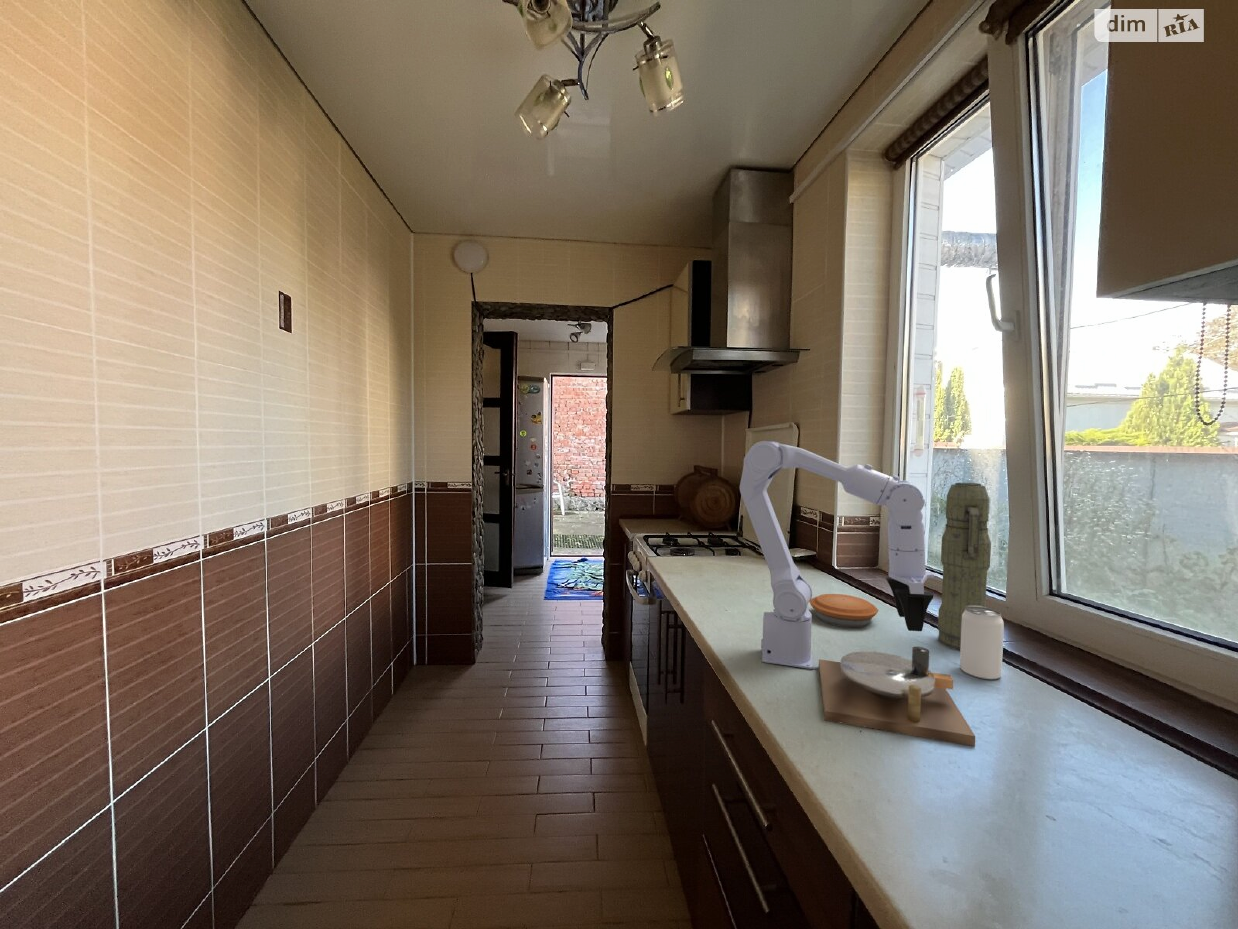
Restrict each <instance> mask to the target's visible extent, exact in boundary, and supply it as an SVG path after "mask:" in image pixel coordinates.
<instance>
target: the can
mask: <svg viewBox="0 0 1238 929" xmlns="http://www.w3.org/2000/svg"><path fill="white" fill-rule="evenodd" d="M1004 625H1005V624H1004V619H1003V618H1002V612H1000V611H999V610H996V609H993V608H990V607H981V606H966V607H965V611H964V613H963V614H962V624H961V648H960V650H959V651H960V652H959V656H960V657H959V668H960V670H962V672H963V673H965V674H967V675H969V676H971V677H973V678H977V679H982V680H988V681H989V680H990V681H994V680H998V679H1000V678H1001V677H1002V674H1003V672H1002V670H1003V649H1004V630H1005V629H1004V628H1005V627H1004Z"/></svg>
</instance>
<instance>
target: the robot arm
mask: <svg viewBox="0 0 1238 929" xmlns="http://www.w3.org/2000/svg"><path fill="white" fill-rule="evenodd" d="M799 468H800V469H803V470H806V471H809V472H811V473H814V474H816V475H820V476H822V477H825V478H828V479H830V480H833V481H835V482H839V483H840V484H841V485H842V487H843V490H844V492H845V493H847V494H850V495H852V496H854V497H857V498H859V499H863V500H865V501H868V502H870V503H871V504H875V505H877V506H886V508H887V509H888V522H887V537H888V538H887V540H888V541H887V544H888V546H887V547H888V562H889V564H888V565H889V571H888V577H885V580H886V582H887V584H888V585H889V587H890V590H891V592H892V596H893V598H894V599H893V600H894V604H895V607H896V611H897V614H898V616H899V618H904V622H905V626H906V628H907V630H908V631H909V632H922V631H923V628H924V624H925V619H926V615H927V610H928V608H929V605H930V604H931V602H932V600H933V599H934V593H933V592H932V591H925V590H924V589H925V588H924V584H925V582H926V581H927V580H928V579H934V577H935V576H934V573H932V571H927V570H926V553H925V552H926V550H925V548H926V547H925V545H926V544H925V526H924V523H923V519H924V518H923V516H924V515H923V512H922V510H923V508H924V506H925V499H924V496H923V493H922V491H921V490H920V489H919V488H918V487H917V486H916V485H915V484H914V483H910V482H909V481H908V480H900V476H897V475H893V476H890V475H888V474H885V473H882V472H880V471H877V470H875V469H873V465H871V464H868V463H865V464H864V465H861V464H858V463H857V464H855V465H852V466H849V467H847V466H845V465H842V464H840V463H837V462H835V461H833V460H831V459H828V458H825V457H823V456H821V455H819V454H817V453H815V452H811V451H809V450H807V449H805V448H802V447H797V446H794V445H788V444H783V443H780V442H779V441H778V442H777V441H773V440H772V441H767V440H762V441H758V442H756V443H755V444H753V445H752V446H751V447H750V448H749V450H748V451H747V453H746V455H745V456H744V458H743V468H742V473H741V477H740V478H741V479H740V482H739V483H740V484H739V492H740V496H741V498H742V500H743V502H744V503H743V504H744V506H745V508H746V510H747V513H748V516H749V518H750V521H751V525H752V528H753V530H754V533H755V535H756V537H757V540H758V543H759V546H760V548H761V550H762V554H763V557H764V559H765V561H766V565H767V567H768V570H769V574H770V576H769V577H770V585H771V586H770V587H771V589H772V594H773V597H772V605H773V608H774V609H773V611H764V612H763V620H762V638H761V642H760V644H761V645H760V648H761V650H762V652H761V654H762V655H761V657H762V658H761V661H762V662H763V663H766V664H773V665H774V664H775V665H781V666H787V667H789V666H790V667H796V668H802V669H810V670H812V669H813V670H814V656H813V652H812V650H811V649H812V622H813V620H812V619H813V618H812V613H811V611H810V609H809V608H808V605H809V604H810V600H811V599H812V598H813V589H812V587H811V586H810V583H808V581H807V580H805V579H804V577H803V576H802V574H801V571H800V569H799V567H797V565H796V564H795V563H794V560H793V557H792V555H791V553H790V549H789V547H788V545H787V544H788V543H787V542H786V538H785V536H784V534H783V531H782V528H781V525H780V523H779V521H778V518H777V516H776V513H775V510H774V507H773V504H772V502H771V500H770V497H769V494H768V491H767V490H768V488H769V486H770V484H771V482H772V481H773V478H774V476H776V475H777V474H778V473H779V472H780V471H781V470H782V469H783V470H784V469H785V470H786V469H788V470H789V469H799Z"/></svg>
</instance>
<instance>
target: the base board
mask: <svg viewBox="0 0 1238 929" xmlns="http://www.w3.org/2000/svg"><path fill="white" fill-rule="evenodd" d="M818 674H819V682H820V689H821V691H822V692H821V698H822V707H823V708H824V709H823V716H824V720H825V722H826V721H827V722H833V723H838V722H842V723H841V724H844V723H845V724H846V725H849V724H851V725H850V726H854V727H856V726H857V727H861V726H865V727H864V728H867V727H869V728H868V729H872V728H874V730H878V729H881V730H880V731H884V730H886V731H885V732H889V733H891V732H892V733H895V732H898V733H897V734H901V733H902V735H908V736H915V737H919V738H926V739H929V740H937V741H941V742H942V741H943V742H946V743H954V744H960V745H965V746H972V747H975V746H976V735H975V733H974V732H973V730H972V728H971V726H969V724H968V722H967V720H966V719H965V717H964V716H963V714H962V712H961V710H960V709H959V708H958V706H957V705H956V703H955V701H954V700H953V697H951V695H950V693H949V691H948V689H945V688H938V687H935V690H934V692H933V693H932V694H931V695H929V696H926V697H923V698H921V688H920V687H919V686H916V685H909V697H908V698H897V697H890V696H885V695H881V694H877V693H874V692H871V691H868V690H865V689H863V688H861V687H858V686H856V685H855V684H853V683H851V682H850V681H848V680H847V679H846V678H845V677H844V676H843V675H842V673H841V661H834V660H826V659H820V658H819V659H818ZM845 724H844V725H845Z"/></svg>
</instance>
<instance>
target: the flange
mask: <svg viewBox="0 0 1238 929" xmlns="http://www.w3.org/2000/svg"><path fill="white" fill-rule="evenodd" d="M840 662H841V673H842V675H843V676H844V677H845V678H846V679H847V680H848V681H850V682H851V683H853V684H855V685H856V686H858V687H861V688H863V689H865V690H868V691H871V692H874V693H877V694H881V695H885V696H890V697H897V698H908V697H909V685H916V686H919V687H920V688H921V698H923V697H926V696H929V695H931V694H932V693H933V692H934V690H935V687H938V688H945V689H946V690H954V679H953V677H952V675H951V674H944V673H937V672H932V671H931V670H930V649H927V648H925V647H922V646H913V647H912V654H911V660H910V659H908V658H905V657H902V656H898V655H895V654H890V653H885V652H879V651H877V652H876V651H864V650H863V651H852V652H850V653H846V654H845V655H843V656H842V657H841V659H840Z"/></svg>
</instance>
